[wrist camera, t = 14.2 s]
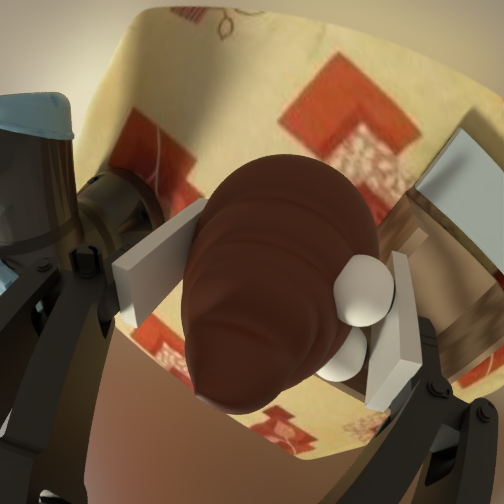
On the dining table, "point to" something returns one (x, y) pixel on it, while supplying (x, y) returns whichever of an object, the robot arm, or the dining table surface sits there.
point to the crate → (440, 293)
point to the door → (469, 193)
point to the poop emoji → (280, 283)
